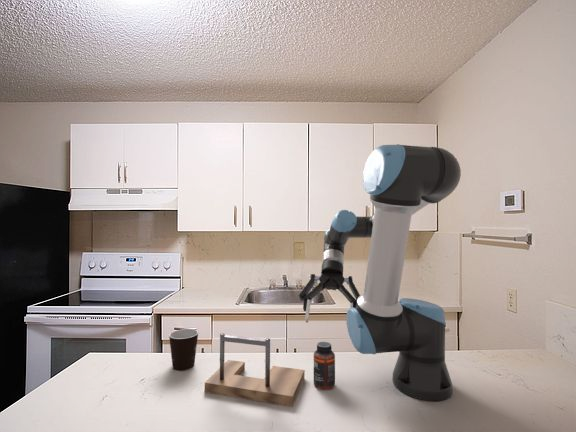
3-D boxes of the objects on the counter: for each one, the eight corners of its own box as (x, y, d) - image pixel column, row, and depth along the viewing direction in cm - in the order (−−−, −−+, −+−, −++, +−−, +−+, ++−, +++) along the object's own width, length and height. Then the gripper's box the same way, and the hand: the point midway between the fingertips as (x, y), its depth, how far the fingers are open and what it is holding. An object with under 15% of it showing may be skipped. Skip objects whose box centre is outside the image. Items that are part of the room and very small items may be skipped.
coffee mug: (189, 374, 92) (189, 340, 92) (162, 371, 93) (163, 337, 94) (207, 357, 103) (207, 326, 103) (183, 354, 105) (183, 324, 105)
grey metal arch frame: (270, 384, 81) (270, 338, 81) (268, 387, 80) (269, 340, 80) (220, 377, 85) (221, 333, 85) (218, 379, 84) (219, 334, 84)
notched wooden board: (304, 378, 89) (304, 369, 89) (292, 406, 76) (292, 396, 76) (228, 367, 96) (228, 359, 96) (204, 392, 82) (204, 382, 82)
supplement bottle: (337, 382, 87) (337, 342, 88) (331, 393, 82) (331, 350, 82) (317, 378, 90) (317, 338, 90) (310, 388, 84) (310, 346, 85)
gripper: (368, 273, 110) (370, 331, 95) (298, 269, 115) (290, 324, 100) (369, 260, 104) (371, 320, 90) (296, 257, 110) (287, 313, 95)
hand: (328, 322), depth 95 cm, fingers open, 13 cm apart
